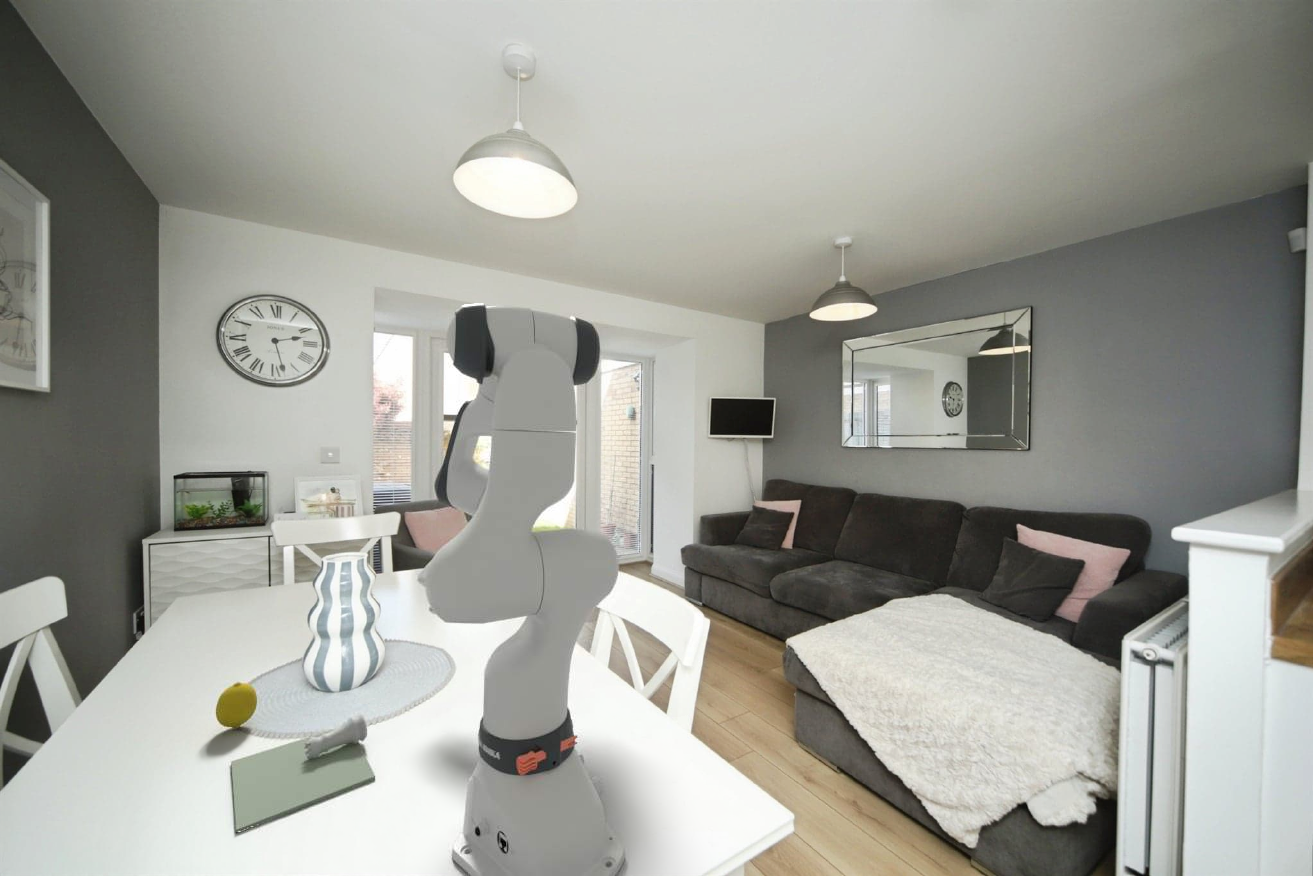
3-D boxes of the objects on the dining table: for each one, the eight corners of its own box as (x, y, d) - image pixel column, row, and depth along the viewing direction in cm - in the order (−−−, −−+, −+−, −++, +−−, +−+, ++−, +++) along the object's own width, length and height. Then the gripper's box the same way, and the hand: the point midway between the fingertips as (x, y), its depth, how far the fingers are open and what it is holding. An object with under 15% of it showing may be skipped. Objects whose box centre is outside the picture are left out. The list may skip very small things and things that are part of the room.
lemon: (232, 739, 84) (234, 692, 84) (206, 735, 85) (207, 688, 85) (264, 721, 90) (265, 677, 90) (239, 717, 91) (240, 673, 91)
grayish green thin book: (375, 779, 75) (375, 776, 75) (236, 833, 64) (236, 829, 64) (349, 727, 88) (349, 724, 88) (231, 764, 78) (231, 761, 78)
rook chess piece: (369, 737, 82) (312, 764, 76) (362, 741, 85) (306, 767, 79) (363, 710, 83) (306, 733, 78) (356, 714, 86) (301, 738, 80)
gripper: (437, 538, 106) (392, 595, 98) (505, 548, 96) (460, 614, 87) (455, 555, 110) (412, 612, 101) (522, 567, 99) (481, 632, 91)
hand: (435, 613), depth 94 cm, fingers closed
